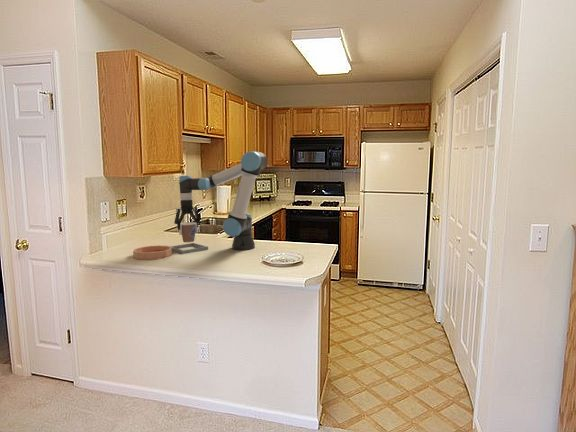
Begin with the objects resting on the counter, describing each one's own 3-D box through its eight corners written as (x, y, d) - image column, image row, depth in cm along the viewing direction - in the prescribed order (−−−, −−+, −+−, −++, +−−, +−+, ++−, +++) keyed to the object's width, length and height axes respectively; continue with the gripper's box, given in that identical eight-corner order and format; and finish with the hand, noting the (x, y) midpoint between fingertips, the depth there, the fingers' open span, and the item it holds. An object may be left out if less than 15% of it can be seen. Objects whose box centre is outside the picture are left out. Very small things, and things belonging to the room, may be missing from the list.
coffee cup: (192, 243, 252) (191, 224, 250) (177, 243, 254) (176, 224, 253) (199, 240, 262) (198, 222, 260) (185, 240, 264) (184, 222, 263)
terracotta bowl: (178, 255, 242) (177, 249, 242) (143, 261, 227) (142, 254, 227) (162, 250, 258) (161, 244, 258) (128, 255, 243) (127, 249, 243)
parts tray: (208, 249, 258) (208, 246, 258) (182, 254, 246) (182, 250, 246) (193, 245, 272) (193, 242, 271) (168, 249, 259) (168, 246, 259)
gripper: (198, 198, 265) (200, 230, 268) (167, 200, 250) (169, 235, 252) (204, 198, 260) (206, 231, 262) (172, 201, 244) (174, 236, 247)
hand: (188, 233), depth 257 cm, fingers closed on coffee cup, 10 cm apart
